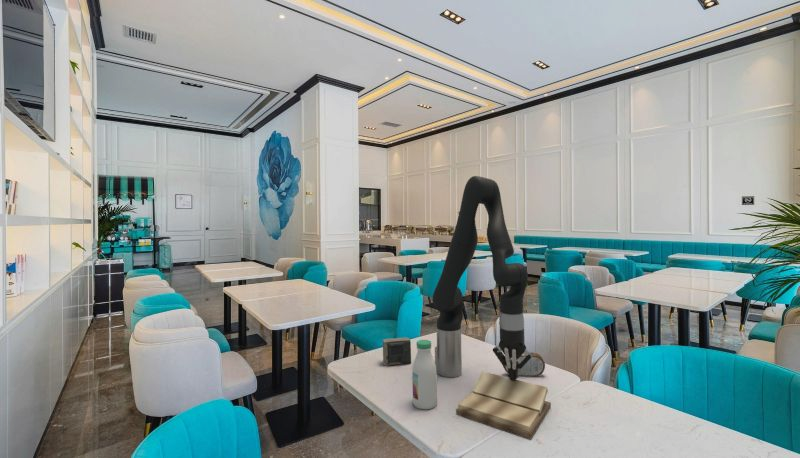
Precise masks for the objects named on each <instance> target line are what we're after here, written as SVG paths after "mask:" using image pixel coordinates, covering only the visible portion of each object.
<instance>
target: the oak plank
mask: <svg viewBox="0 0 800 458" xmlns="http://www.w3.org/2000/svg"><path fill="white" fill-rule="evenodd" d="M548 389H549V388H548V387H547V386H543V385H541V384H537V383H533V382H528V381H524V380H521V379H516V380H515V381H513V380H510V378H509V377H507V376H503V375H500V374H497V373H493V372H492V373H491V372H487V371H483V370H482V372H481V373H480V376H479V377H478V380H477V381H476V383H475V385H474V387H473V389H472V392H471V393H475V394H478V395H481V396H485V397H488V398H492V399H495V400H499V401H502V402H506V403H509V404H512V405H516V406H519V407H523V408H526V409H530V410H533V411H537V412H539V414H541V411H542V408H543V405H544V401H546V398H547V396H548V395H547V394H548V391H549V390H548Z"/></svg>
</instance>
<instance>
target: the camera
mask: <svg viewBox="0 0 800 458" xmlns="http://www.w3.org/2000/svg"><path fill="white" fill-rule="evenodd" d="M411 343H412V342H411V339H410V337H397V338H396V337H395V338H385V339H383V340H382V358H383V359H382V360H383V361H382V362H383V365H384V366H386V365H387V366H396V365H395V364H398V365H405V363H407V364H411V363H412V347H411V345H412V344H411Z"/></svg>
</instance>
